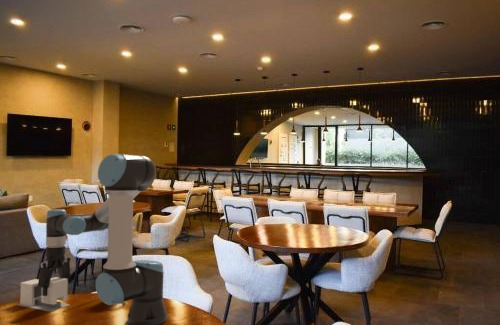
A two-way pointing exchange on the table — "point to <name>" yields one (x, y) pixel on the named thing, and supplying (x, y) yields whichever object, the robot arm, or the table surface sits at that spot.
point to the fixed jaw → (30, 292)
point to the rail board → (46, 305)
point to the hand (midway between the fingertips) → (54, 300)
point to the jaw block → (57, 290)
